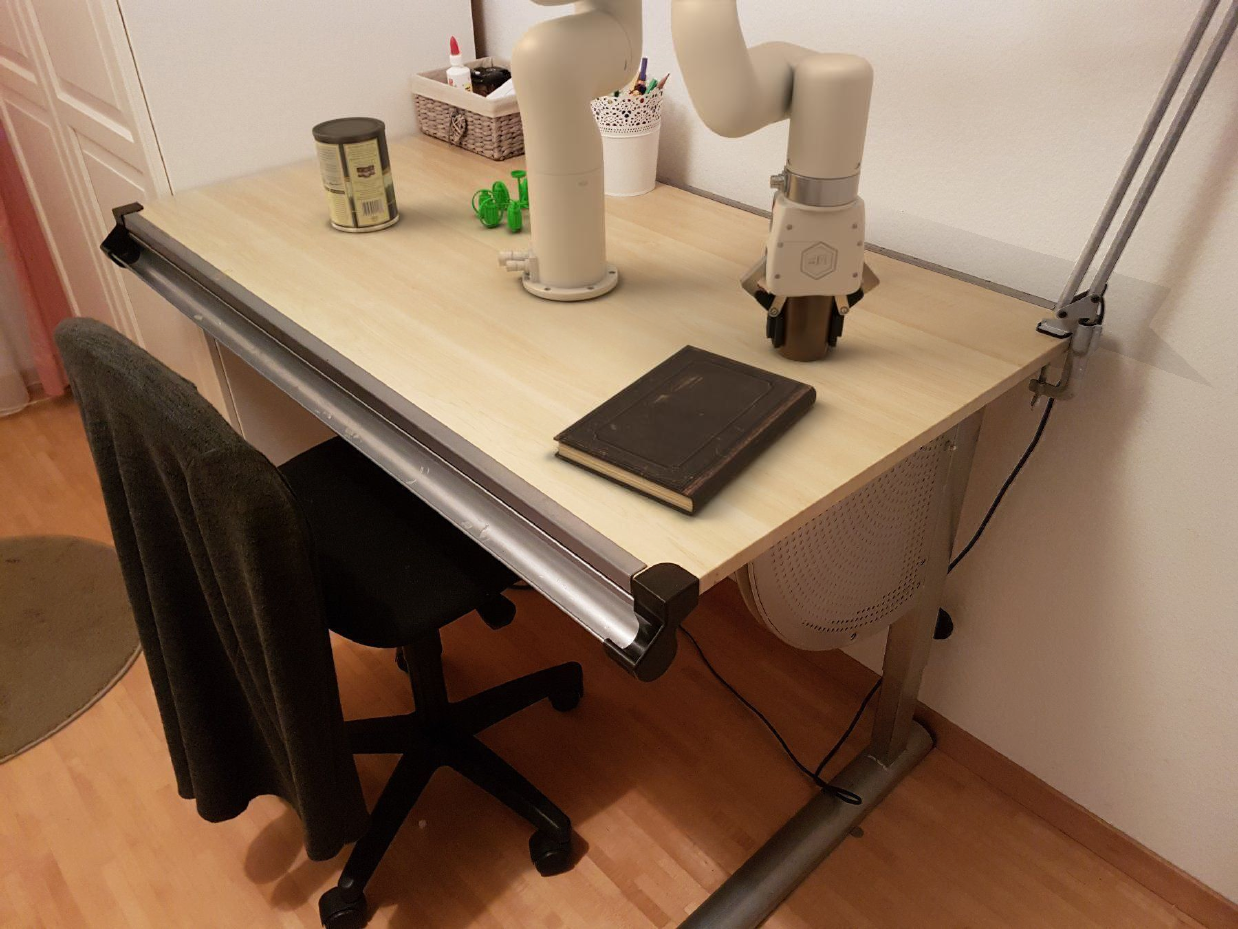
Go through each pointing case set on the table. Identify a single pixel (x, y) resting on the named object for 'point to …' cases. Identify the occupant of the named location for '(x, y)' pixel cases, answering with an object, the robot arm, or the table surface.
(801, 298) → the walnut cylinder
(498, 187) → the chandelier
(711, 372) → the hardcover book
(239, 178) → the table surface
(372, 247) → the table surface
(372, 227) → the coffee can
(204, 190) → the table surface
